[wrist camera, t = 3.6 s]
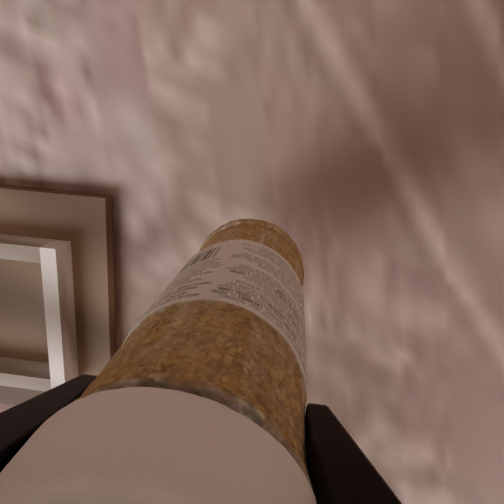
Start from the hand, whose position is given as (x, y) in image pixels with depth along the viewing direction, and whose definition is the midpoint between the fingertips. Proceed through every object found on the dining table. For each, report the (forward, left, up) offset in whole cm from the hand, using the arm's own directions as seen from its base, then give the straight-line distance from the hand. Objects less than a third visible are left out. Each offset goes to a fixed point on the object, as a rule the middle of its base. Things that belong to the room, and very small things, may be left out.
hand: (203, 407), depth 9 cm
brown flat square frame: (-5, +14, -13) cm, 19 cm away
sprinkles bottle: (0, 0, -9) cm, 9 cm away
